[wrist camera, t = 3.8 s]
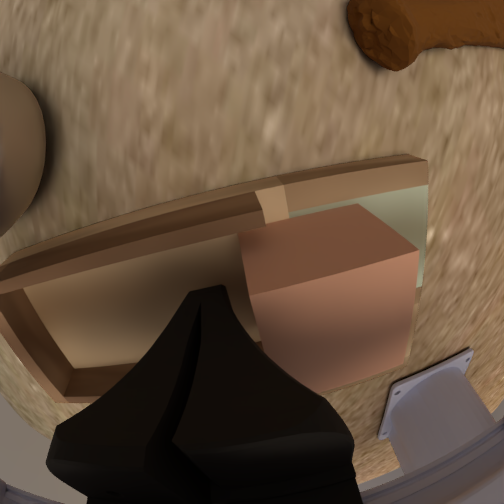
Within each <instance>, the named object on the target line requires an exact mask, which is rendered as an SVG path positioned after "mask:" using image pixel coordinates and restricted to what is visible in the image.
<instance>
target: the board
mask: <svg viewBox="0 0 504 504" xmlns="http://www.w3.org/2000/svg"><path fill="white" fill-rule="evenodd" d="M356 203H358V204H360V205H361V206H362V207H364V208H365V209H367V210H368V211H369V212H371V213H372V214H373V215H375V216H376V217H378V218H379V219H380V220H382V221H383V222H384V223H386V224H387V225H388V226H390V227H391V228H392V229H394V230H395V231H396V232H397V233H399V234H400V235H401V236H403V237H404V238H405V239H406V240H408V241H409V242H410V243H411V244H413V245H414V246H415V247H416V248H418V249H419V264H418V274H417V284H416V292H415V300H414V307H413V314H412V321H411V327H410V332H409V338H408V343H407V348H406V353H405V358H404V363H403V364H401V365H399V366H396V367H394V368H391V369H389V370H386V371H383V372H381V373H378V374H375V375H373V376H370V377H367V378H364V379H361V380H358V381H355V382H352V383H349V384H346V385H343V386H340V387H337V388H334V389H330V390H327V391H324V392H320V393H317V394H319V395H320V396H321V395H324V394H328V393H331V392H335V391H338V390H341V389H345V388H348V387H351V386H354V385H357V384H360V383H363V382H366V381H369V380H372V379H375V378H377V377H380V376H383V375H386V374H388V373H391V372H394V371H396V370H399V369H401V368H404V367H406V366H407V364H408V360H409V356H410V351H411V347H412V342H413V337H414V332H415V327H416V321H417V316H418V310H419V304H420V297H421V290H422V280H423V272H424V262H425V251H426V238H427V218H428V161H427V160H424V159H421V158H418V157H415V156H412V155H409V154H405V155H397V156H390V157H382V158H375V159H368V160H362V161H355V162H349V163H343V164H337V165H331V166H325V167H320V168H314V169H309V170H304V171H298V172H293V173H288V174H283V175H278V176H274V177H269V178H264V179H259V180H255V181H250V182H246V183H241V184H237V185H233V186H228V187H224V188H220V189H216V190H212V191H208V192H204V193H200V194H196V195H192V196H188V197H184V198H181V199H177V200H173V201H169V202H166V203H162V204H159V205H155V206H152V207H148V208H145V209H141V210H138V211H134V212H131V213H128V214H124V215H121V216H118V217H115V218H111V219H108V220H105V221H102V222H99V223H96V224H93V225H89V226H86V227H83V228H80V229H77V230H75V231H72V232H69V233H66V234H63V235H60V236H57V237H54V238H52V239H49V240H46V241H43V242H41V243H38V244H35V245H33V246H30V247H27V248H25V249H22V250H20V251H17V252H14V253H13V254H12V255H11V256H10V257H9V258H7V259H6V260H5V261H4V262H3V263H2V264H1V265H0V332H1V334H2V335H3V337H4V338H5V340H6V341H7V343H8V344H9V346H10V347H11V348H12V350H13V351H14V353H15V354H16V355H17V357H18V358H19V359H20V361H21V362H22V363H23V365H24V366H25V367H26V369H27V370H28V371H29V372H30V374H31V375H32V376H33V377H34V378H35V380H36V381H37V382H38V383H39V384H40V386H41V387H42V388H43V389H44V390H45V391H46V393H47V394H48V395H49V396H50V397H51V398H52V399H53V400H54V401H55V403H90V404H92V403H93V402H94V401H96V400H97V399H99V398H100V397H101V396H102V395H104V394H105V393H106V392H107V391H108V390H110V389H111V388H112V387H113V386H114V385H115V384H116V383H117V382H118V381H120V380H121V379H122V378H123V377H124V376H125V375H126V374H127V373H128V372H129V371H130V370H131V369H132V368H133V367H134V366H135V365H136V364H137V363H138V362H139V361H140V359H141V358H142V357H143V356H144V355H145V354H146V353H147V351H148V350H149V349H150V348H151V346H152V345H153V344H154V342H155V341H156V340H157V338H158V337H159V336H160V334H161V333H162V332H163V330H164V329H165V328H166V326H167V325H168V323H169V322H170V320H171V319H172V317H173V316H174V314H175V312H176V311H177V309H178V308H179V306H180V305H181V303H182V302H183V300H184V298H185V297H186V295H187V294H188V292H189V291H193V290H198V289H202V288H207V287H211V286H215V285H220V284H222V285H224V286H226V289H227V293H228V296H229V299H230V302H231V305H232V309H233V311H234V313H235V315H236V317H237V318H238V320H239V322H240V323H241V325H242V326H243V327H244V329H245V330H246V332H247V333H248V334H249V336H250V337H251V338H252V339H253V341H254V342H255V343H256V344H257V345H258V346H259V347H260V348H261V349H262V351H263V352H264V349H263V346H262V342H261V338H260V335H259V331H258V327H257V323H256V320H255V316H254V312H253V308H252V305H251V301H250V297H249V292H248V287H247V282H246V276H245V271H244V265H243V260H242V254H241V249H240V243H239V238H238V233H240V232H245V231H249V230H253V229H258V228H262V227H266V224H267V223H271V222H276V221H280V220H284V219H289V218H293V217H297V216H302V215H306V214H310V213H315V212H319V211H324V210H328V209H333V208H338V207H342V206H347V205H352V204H356Z"/></svg>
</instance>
